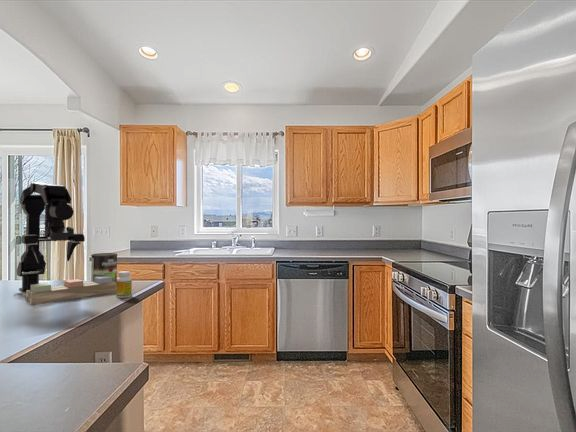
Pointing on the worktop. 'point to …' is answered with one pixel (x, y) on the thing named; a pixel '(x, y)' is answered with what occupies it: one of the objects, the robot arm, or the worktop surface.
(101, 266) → the coffee can
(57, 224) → the robot arm
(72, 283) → the terracotta key
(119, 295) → the supplement bottle
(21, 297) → the worktop surface
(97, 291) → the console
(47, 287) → the sage key
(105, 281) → the slate key
